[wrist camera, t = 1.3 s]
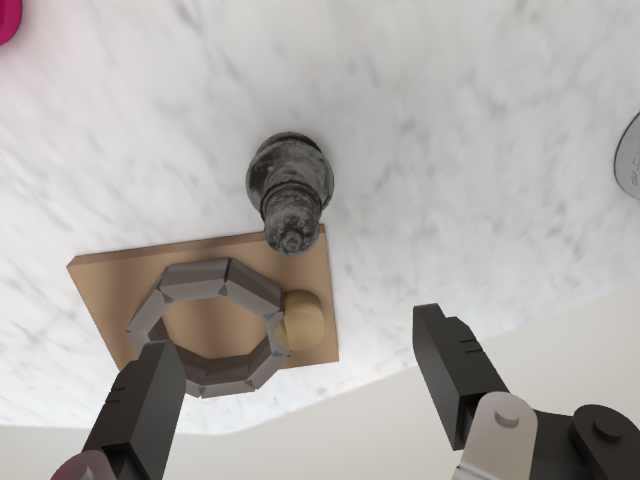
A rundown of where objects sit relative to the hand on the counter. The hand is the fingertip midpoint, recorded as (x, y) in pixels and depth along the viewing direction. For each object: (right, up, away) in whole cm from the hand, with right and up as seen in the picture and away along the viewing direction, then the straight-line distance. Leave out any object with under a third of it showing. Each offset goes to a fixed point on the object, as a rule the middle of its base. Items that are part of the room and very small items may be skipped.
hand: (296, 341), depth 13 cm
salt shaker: (-1, +9, +16) cm, 18 cm away
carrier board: (-8, -3, +22) cm, 23 cm away
